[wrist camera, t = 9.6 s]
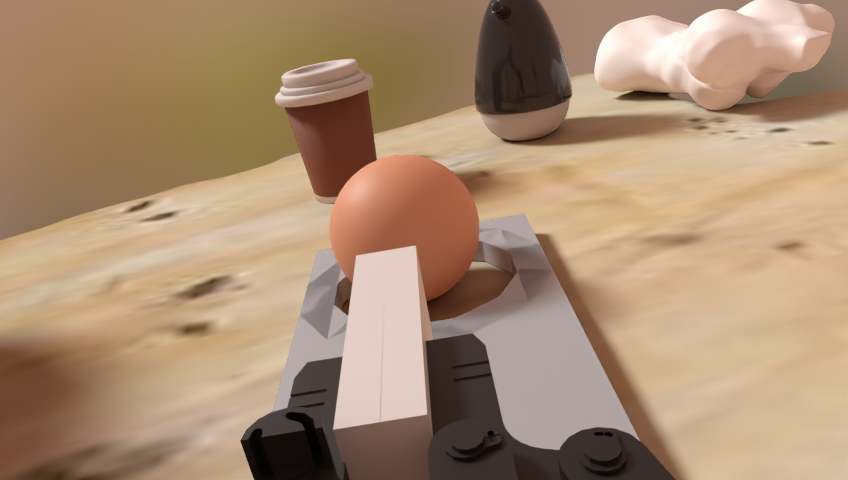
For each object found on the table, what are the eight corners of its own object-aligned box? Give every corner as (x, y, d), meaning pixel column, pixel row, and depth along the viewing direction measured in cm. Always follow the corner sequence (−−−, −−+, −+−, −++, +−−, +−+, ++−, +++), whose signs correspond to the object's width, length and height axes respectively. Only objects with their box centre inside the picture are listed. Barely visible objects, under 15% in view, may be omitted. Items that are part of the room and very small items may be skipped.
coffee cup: (333, 215, 59) (299, 80, 54) (286, 199, 66) (252, 78, 61) (413, 182, 64) (388, 55, 59) (361, 170, 71) (335, 56, 66)
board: (666, 523, 23) (665, 490, 22) (242, 592, 23) (230, 561, 23) (526, 232, 48) (524, 213, 47) (322, 269, 48) (317, 250, 48)
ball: (281, 181, 38) (321, 331, 39) (415, 147, 34) (456, 317, 35) (366, 163, 46) (397, 288, 47) (483, 133, 41) (515, 272, 42)
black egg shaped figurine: (467, 151, 70) (443, 1, 65) (497, 124, 79) (478, -11, 73) (563, 146, 66) (546, -16, 60) (584, 117, 74) (571, -27, 69)
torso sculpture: (577, 119, 80) (748, 131, 58) (565, 35, 77) (740, 13, 55) (693, 84, 86) (890, 82, 63) (686, 4, 83) (889, -27, 60)
